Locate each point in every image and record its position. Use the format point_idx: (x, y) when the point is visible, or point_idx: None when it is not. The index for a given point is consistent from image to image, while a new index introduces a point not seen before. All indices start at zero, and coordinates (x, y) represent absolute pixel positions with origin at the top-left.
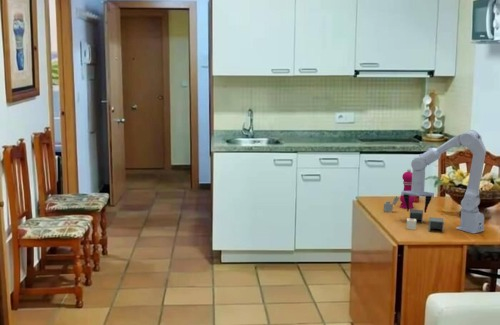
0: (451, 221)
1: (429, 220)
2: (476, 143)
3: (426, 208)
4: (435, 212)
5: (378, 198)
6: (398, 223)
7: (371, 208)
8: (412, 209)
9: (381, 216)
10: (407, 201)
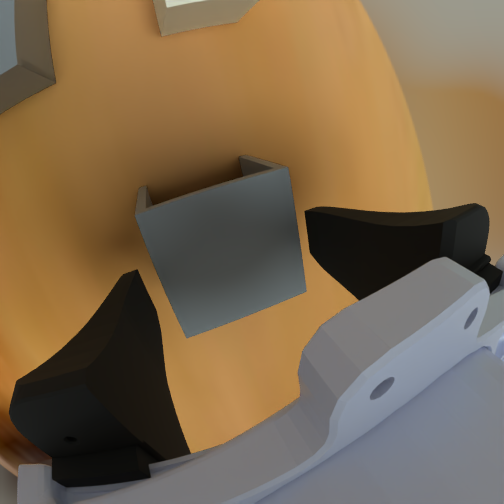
0: (23, 362)
1: (22, 25)
2: None
3: (109, 295)
4: None
5: None
6: (312, 87)
7: None
8: (282, 289)
9: (412, 210)
10: (407, 220)
